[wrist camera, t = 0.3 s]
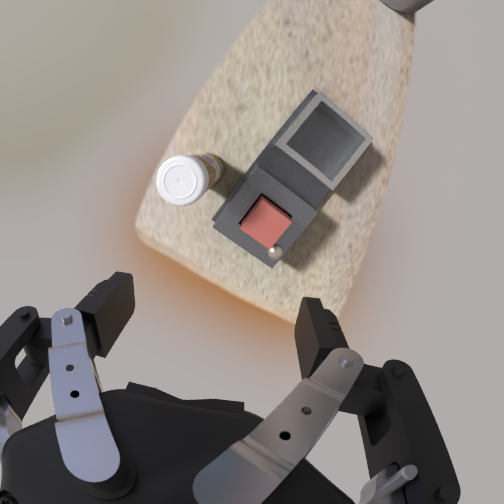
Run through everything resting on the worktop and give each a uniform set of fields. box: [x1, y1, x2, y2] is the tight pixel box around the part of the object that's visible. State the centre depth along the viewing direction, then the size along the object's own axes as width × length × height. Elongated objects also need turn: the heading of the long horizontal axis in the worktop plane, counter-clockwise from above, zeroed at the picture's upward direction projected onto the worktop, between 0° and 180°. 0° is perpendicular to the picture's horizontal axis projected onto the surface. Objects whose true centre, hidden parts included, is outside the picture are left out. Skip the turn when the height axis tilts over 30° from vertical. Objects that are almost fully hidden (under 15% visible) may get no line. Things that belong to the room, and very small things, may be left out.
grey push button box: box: [212, 90, 374, 268], centre depth 32 cm, size 22×10×6 cm, turn 143°
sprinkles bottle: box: [156, 153, 224, 206], centre depth 28 cm, size 5×4×14 cm
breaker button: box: [241, 193, 292, 250], centre depth 32 cm, size 4×4×5 cm
